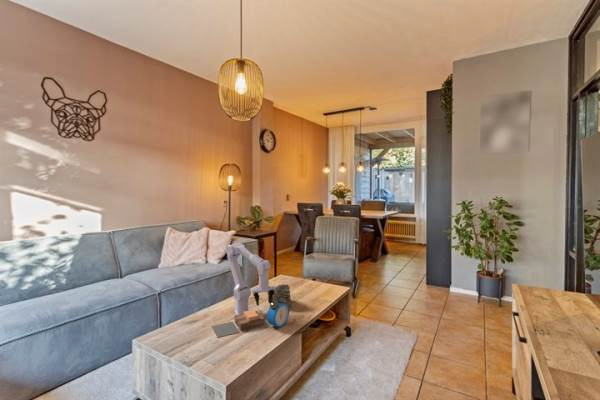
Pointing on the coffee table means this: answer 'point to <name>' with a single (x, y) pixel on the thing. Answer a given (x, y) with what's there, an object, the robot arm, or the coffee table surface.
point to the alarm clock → (278, 313)
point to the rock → (282, 294)
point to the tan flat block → (248, 322)
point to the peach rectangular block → (251, 315)
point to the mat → (225, 329)
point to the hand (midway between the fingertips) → (263, 303)
